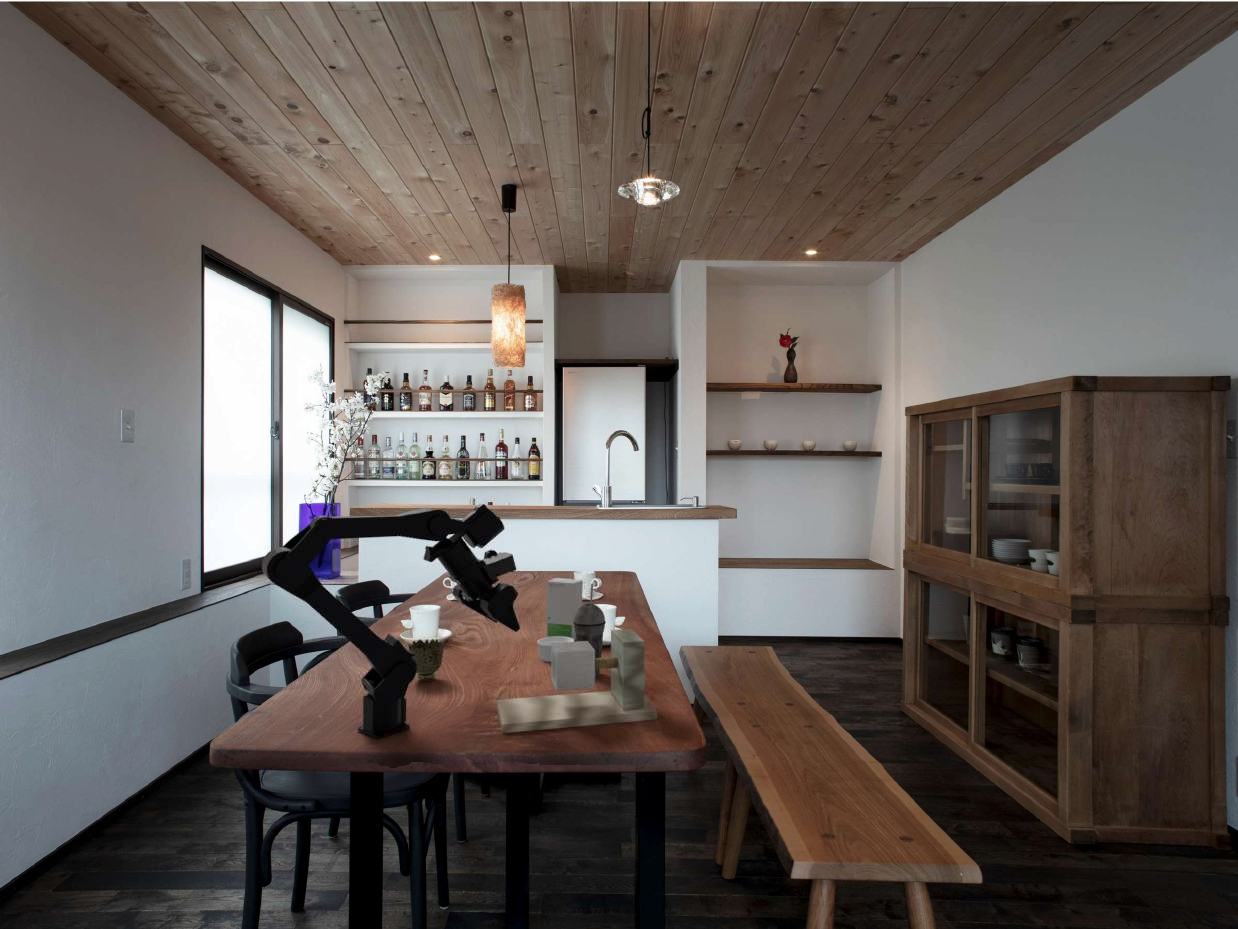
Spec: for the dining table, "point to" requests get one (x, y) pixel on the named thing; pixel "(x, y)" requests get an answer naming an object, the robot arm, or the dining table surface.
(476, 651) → the dining table surface
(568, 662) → the grey cube
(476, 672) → the dining table surface
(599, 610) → the beverage cup
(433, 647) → the cup
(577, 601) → the skincare box
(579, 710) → the l-shaped wooden stand
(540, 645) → the ramekin
